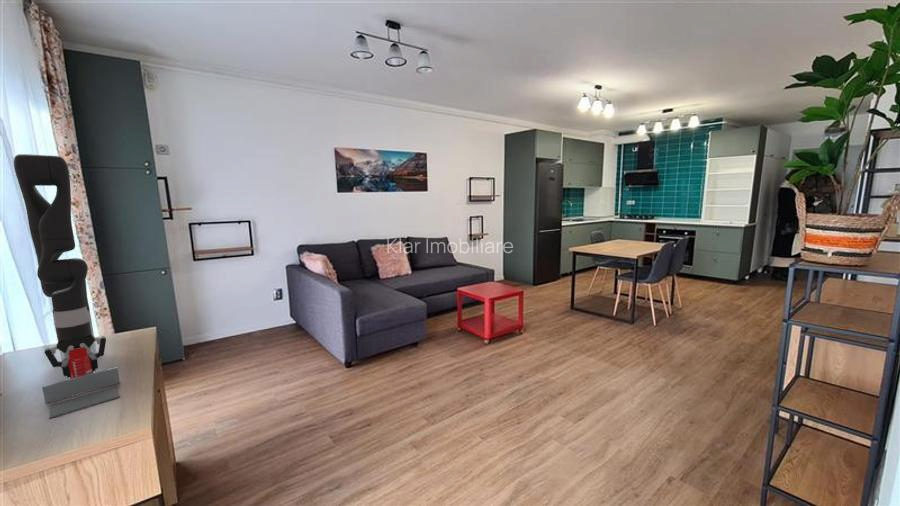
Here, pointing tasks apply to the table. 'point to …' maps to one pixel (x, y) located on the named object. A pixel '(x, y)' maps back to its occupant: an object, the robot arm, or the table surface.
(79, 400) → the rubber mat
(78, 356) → the beverage can
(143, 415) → the table surface
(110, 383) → the low wall
